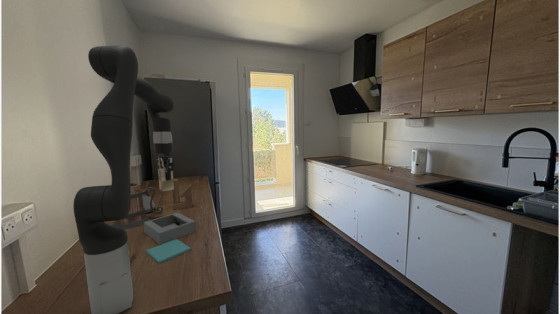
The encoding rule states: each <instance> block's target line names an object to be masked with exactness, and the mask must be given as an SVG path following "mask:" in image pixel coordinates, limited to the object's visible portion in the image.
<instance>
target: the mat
mask: <svg viewBox="0 0 560 314" xmlns="http://www.w3.org/2000/svg"><path fill="white" fill-rule="evenodd" d="M191 250H192V248H191V247H190V246H188V245H187V244H185V243H183V242H182V241H180V240H179V239H178V238H177V239H174V240H172V241H169V242H166V243H163V244H161V245H160V244H158V245H157V246H155V247H151V248H148V249H146V250H145V252H146V254H147V255H148V256H149V257H151V258H152V259H153V260H154V261H156V263H157V264H162V263H164V262H166V261H168V260H171V259H174V258H176V257H179V256H180V255H182V254H184V253H187V252H189V251H191Z"/></svg>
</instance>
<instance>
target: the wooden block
mask: <svg viewBox="0 0 560 314" xmlns="http://www.w3.org/2000/svg"><path fill="white" fill-rule="evenodd" d="M173 182H174V190H171V191H172V202H173V203H172V209H173V210H175V211H176V210H182V209H191V208H193V194H192V184H191V183H190V184H189V185H188V186H187V187H186V188H185V189H184V190H183V191H182V192H181V194H180V186H179V178H177V179H176V178H173ZM180 198H185V201H180Z"/></svg>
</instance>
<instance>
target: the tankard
mask: <svg viewBox="0 0 560 314" xmlns="http://www.w3.org/2000/svg"><path fill="white" fill-rule="evenodd" d="M130 185H131V204H130V210H129V213H128V215H127V217H126V218H124V219H122V220H117V221H113V224H112V225H111V226H113V227H116V228H121V229H123V230H125V231H126V230H131V229H135V228H138V227H142V226H144V223H143V222H146V221H150V220H151V218H150V217H149V216H148V215H146V213H145V209H144V206H143V199H142V194H143V193H145V194H146V195H147V196H150V194H149V193H150V191H148V190H152V191H153V193H152V195H151V196H150V197H151V199H150V207H151V210H152V211H151V212H152V214H155V215H161V214H162V213H163V211H164V207H163V206H162V205H158V206H157V207H156V210H157V211H156V210H155V208H154V209H153V207H152V200H153V199H154V197H155V195H156V188H155V187H153V186H148V187H147V189H146V190H145V191H144V192H142V191H141V190H142V189H141V185H140V183H134V182H132V183H131V182H130Z"/></svg>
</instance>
